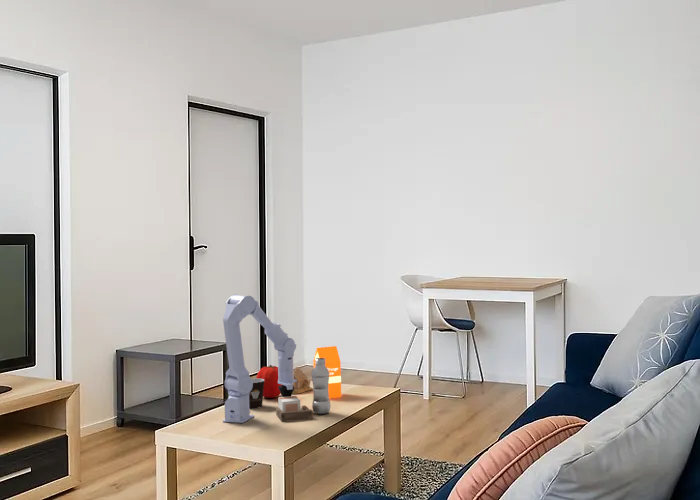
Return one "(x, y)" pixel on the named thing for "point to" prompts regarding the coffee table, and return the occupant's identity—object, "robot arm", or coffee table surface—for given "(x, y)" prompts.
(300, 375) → the ceramic model
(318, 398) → the plastic bottle
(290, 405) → the carton
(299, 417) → the display stand
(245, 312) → the robot arm
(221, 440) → the coffee table surface
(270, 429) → the coffee table surface
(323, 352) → the orange juice
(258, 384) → the coffee mug
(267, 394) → the red bell pepper
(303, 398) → the coffee table surface
